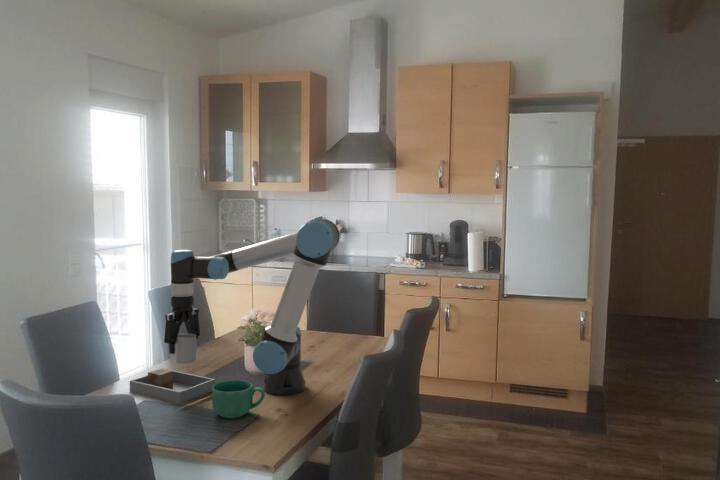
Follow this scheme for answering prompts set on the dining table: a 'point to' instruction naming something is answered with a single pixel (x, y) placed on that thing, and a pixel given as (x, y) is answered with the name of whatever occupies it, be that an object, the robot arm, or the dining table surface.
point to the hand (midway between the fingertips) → (182, 359)
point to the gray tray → (174, 387)
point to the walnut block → (161, 378)
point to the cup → (186, 348)
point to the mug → (234, 398)
